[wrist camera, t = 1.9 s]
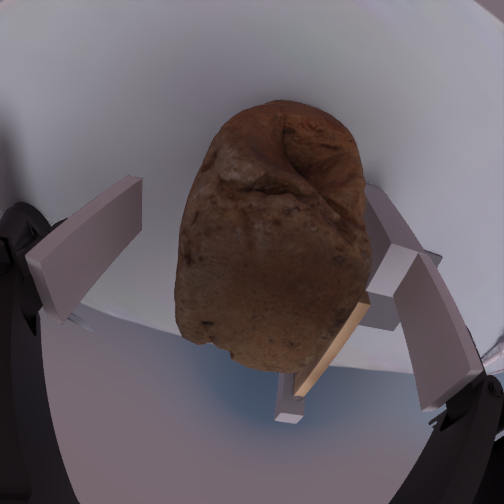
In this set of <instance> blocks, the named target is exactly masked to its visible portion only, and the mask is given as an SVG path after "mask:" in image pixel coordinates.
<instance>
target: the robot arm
mask: <svg viewBox="0 0 504 504" xmlns="http://www.w3.org/2000/svg"><path fill="white" fill-rule="evenodd" d="M142 179H143V178H140V177H134V176H129V175H128V176H127V177H125V178H124V179H122V180H121V181H119V182H118V183H116V184H115V185H113V186H112V187H110V188H109V189H107V190H106V191H105V192H103V193H102V194H100V195H99V196H97V197H96V198H95V199H93V200H92V201H90V202H89V203H88V204H86V205H85V206H84V207H82V208H81V209H80V210H78V211H77V212H76V213H74V214H73V215H72V216H71V217H69V218H66V219H64V220H62V221H59V222H57V223H55V224H54V225H53V226H52V227H50V226H49V224H48V223H47V221H46V220H45V219H44V217H43V216H42V215H41V214H40V213H39V212H38V211H37V210H36V209H35V208H33V207H32V206H31V205H29V204H26V203H22V202H20V203H16V204H15V205H13V206H12V207H11V208H9V209H8V210H7V211H6V212H5V213H4V215H3V216H2V218H1V219H0V504H80V503H79V502H78V500H77V498H76V496H75V493H74V491H73V488H72V486H71V483H70V480H69V478H68V475H67V472H66V469H65V466H64V463H63V460H62V457H61V453H60V450H59V446H58V443H57V439H56V435H55V431H54V427H53V422H52V418H51V414H50V408H49V403H48V397H47V391H46V384H45V377H44V369H43V359H42V347H41V330H40V329H41V327H40V316H39V313H38V311H39V310H40V309H41V307H42V306H43V308H44V310H45V312H46V315H47V317H48V318H50V319H52V320H54V321H56V322H57V323H59V324H61V325H63V324H64V322H65V321H66V319H67V318H68V317H69V315H70V314H71V313H72V311H73V310H74V309H75V308H76V306H77V305H78V304H79V302H80V301H81V300H82V298H83V297H84V296H85V295H86V293H87V292H88V291H89V290H90V288H91V287H92V286H93V285H94V284H95V282H96V281H97V280H98V279H99V277H100V276H101V275H102V274H103V273H104V272H105V270H106V269H107V268H108V267H109V266H110V264H111V263H112V262H113V261H114V260H115V259H116V258H117V256H118V255H119V254H120V253H121V252H122V251H123V250H124V248H125V247H126V246H127V245H128V244H129V243H130V242H131V241H132V240H133V239H134V237H135V236H136V235H137V234H138V233H139V232H140V231H141V230H142ZM393 298H394V302H395V305H396V308H397V311H398V314H399V318H400V321H401V325H402V328H403V332H404V335H405V339H406V343H407V347H408V350H409V354H410V359H411V363H412V367H413V371H414V376H415V381H416V385H417V390H418V395H419V401H420V406H421V411H435V410H437V409H438V408H439V407H441V406H442V405H443V404H444V403H446V407H447V409H446V410H445V411H443V412H442V413H441V414H439V415H438V416H437V417H435V418H434V419H432V420H431V421H430V422H429V425H431V424H432V423H433V422H435V421H438V422H437V424H436V425H434V426H433V428H434V430H433V432H432V434H431V436H430V438H429V440H428V442H427V444H426V446H425V447H424V449H423V451H422V453H421V455H420V456H419V458H418V460H417V462H416V463H415V465H414V467H413V468H412V470H411V471H410V473H409V475H408V476H407V478H406V479H405V481H404V482H403V484H402V485H401V487H400V489H399V490H398V491H397V493H396V494H395V496H394V497H393V498H392V500H391V501H390V503H389V504H504V436H503V437H501V438H500V439H498V440H497V441H495V442H494V440H495V436H496V435H497V434H498V433H500V432H501V431H503V430H504V392H503V388H502V385H501V383H500V382H499V381H498V379H497V378H496V377H494V376H493V375H487V374H486V372H485V369H484V366H483V363H482V361H481V358H480V355H479V353H478V350H477V348H476V345H475V343H474V341H473V338H472V336H471V333H470V331H469V329H468V328H467V326H466V325H465V323H464V321H463V318H462V316H461V314H460V312H459V310H458V308H457V306H456V304H455V302H454V300H453V298H452V296H451V294H450V292H449V290H448V288H447V286H446V284H445V282H444V281H443V279H442V277H441V275H440V273H439V272H438V270H437V268H436V266H435V265H434V263H433V261H432V259H431V258H430V257H429V256H427V255H424V254H421V253H418V254H417V256H416V258H415V259H414V261H413V263H412V265H411V266H410V268H409V270H408V271H407V273H406V275H405V276H404V278H403V280H402V281H401V283H400V285H399V286H398V288H397V289H396V291H395V292H394V294H393Z"/></svg>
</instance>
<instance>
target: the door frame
mask: <svg viewBox="0 0 504 504" xmlns="http://www.w3.org/2000/svg"><path fill="white" fill-rule="evenodd" d="M364 193H365V196H366V207H365V212H364V215H363V216H364V221H365V225H366V231H367V235H368V237H369V238H370V244H371V249H372V264H371V273H370V276H369V279H368V281H367V284H366V287H365V290H366V291H368V292H372V293H376V294H381V295H385V296H389V297H393V294H394V292H395V291H396V289H397V288H398V286H399V285H400V283H401V281H402V280H403V278H404V276H405V275H406V273H407V271H408V270H409V268H410V266H411V265H412V263H413V261H414V259H415V258H416V256H417V254H418V253H421V254H424V255H427V254H426V252H425V251H424V249H423V248H422V246H421V244H420V243H419V241H418V240H417V238H416V237H415V235H414V233H413V232H412V230H411V229H410V227H409V226H408V224H407V223H406V221H405V220H404V219H403V217H402V216H401V214H400V213H399V211H398V210H397V209H396V207H395V206H394V204H393V203H392V202H391V200H390V199H389V198H388V196H387V195H386V194H385V192H384V191H383V190H382V189H380V188H377V187H374V186H371V185H369V184H366V185H365V189H364ZM292 385H293V373H290V374H288V373H279V383H278V392H277V402H276V410H275V418H274V420H275V421H281V422H288V423H297V422H298V421H299V420H300V419H301V418H302V417H303V416H304V403H305V396H304V397H303V400H301V401H293V400H292Z"/></svg>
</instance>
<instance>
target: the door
mask: <svg viewBox="0 0 504 504" xmlns="http://www.w3.org/2000/svg"><path fill="white" fill-rule="evenodd" d="M370 306H371V303H370V299H369V295H368V291H366V290H365V289H364V291H363V293H362V295H361V298H360V300H359V302H358V304H357V306H356V307H355V309H354V311H353V312H352V314H351V315H350V317H349V318H348V320H347V322H346V323H345V325H344V326H343V328H342V329H341V330H340V332H339V333H338V334H337V335H336V337H335V338H334V339H333V340H332V341H331V343H330V345H329V346H328V348H327V350H326V351H325V352H324V353H323V354H322V355H321V356H320V357H319V359H318V360H317V361H316V362H315V363H314V364H313V365H311V366H308V367H306V368H304V369H302V370H299V371H297V372H294V373H293V385H292V400H293V401H301V400H303V397H304V396H305V394H306V393H307V392H308V391H309V390H310V388H311V387H312V386H313V384H315V382H316V381H317V380H318V379H319V377H320V376H321V375H322V373H323V372H324V371H325V370H326V368H327V367H328V366H329V364H330V363H331V362H332V361H333V359H334V358H335V357H336V355H337V354H338V352H339V351H340V350H341V348H342V347H343V346H344V344H345V343H346V341H347V340H348V339H349V337H350V336H351V334H352V333H353V331H354V330H355V328H356V327H357V326H358V324H359V323H360V321H361V320H362V318H363V317H364V315H365V313H366V312H367V310H368V309H369V307H370Z"/></svg>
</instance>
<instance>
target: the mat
mask: <svg viewBox="0 0 504 504" xmlns="http://www.w3.org/2000/svg"><path fill="white" fill-rule="evenodd" d="M424 251H425V252H426V254H427V256H429V257H430V258H431V259H432V261H433V263H434V265H435V266H436V268H437V267H438V265H439V263H440V262H441V260H442V258H443V257H442V256H440V255H437V254H434V253H431V252H428V251H426V250H424ZM368 295H369V299H370V303H371V306H370V307H369V309H368V310H367V312H366V313H365V315H364V317H363V318H362V320H361V321H360V323H359V324H358V325H363V326H368V327H373V328H379V329H384V330H390V331H394V329H395V328H396V327H397V325H398V324H399V323H400V318H399V314H398V311H397V308H396V305H395V302H394V298H393V297H389V296H385V295H381V294H376V293H372V292H368Z"/></svg>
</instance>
